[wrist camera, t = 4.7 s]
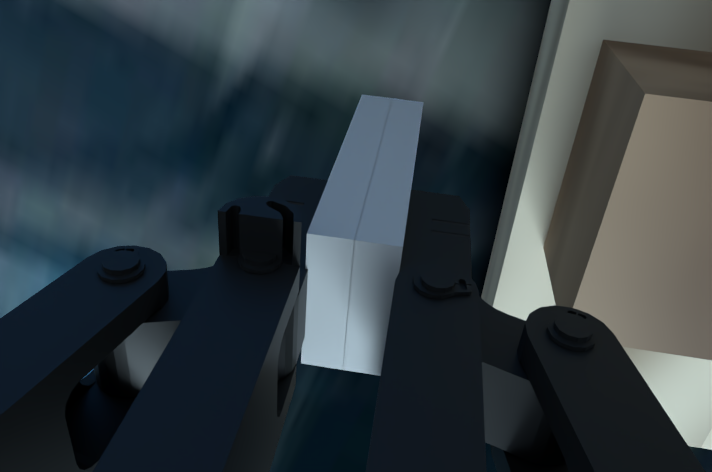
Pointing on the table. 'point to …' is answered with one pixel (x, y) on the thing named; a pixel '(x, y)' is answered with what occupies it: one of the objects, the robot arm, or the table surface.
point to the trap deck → (548, 165)
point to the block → (640, 201)
